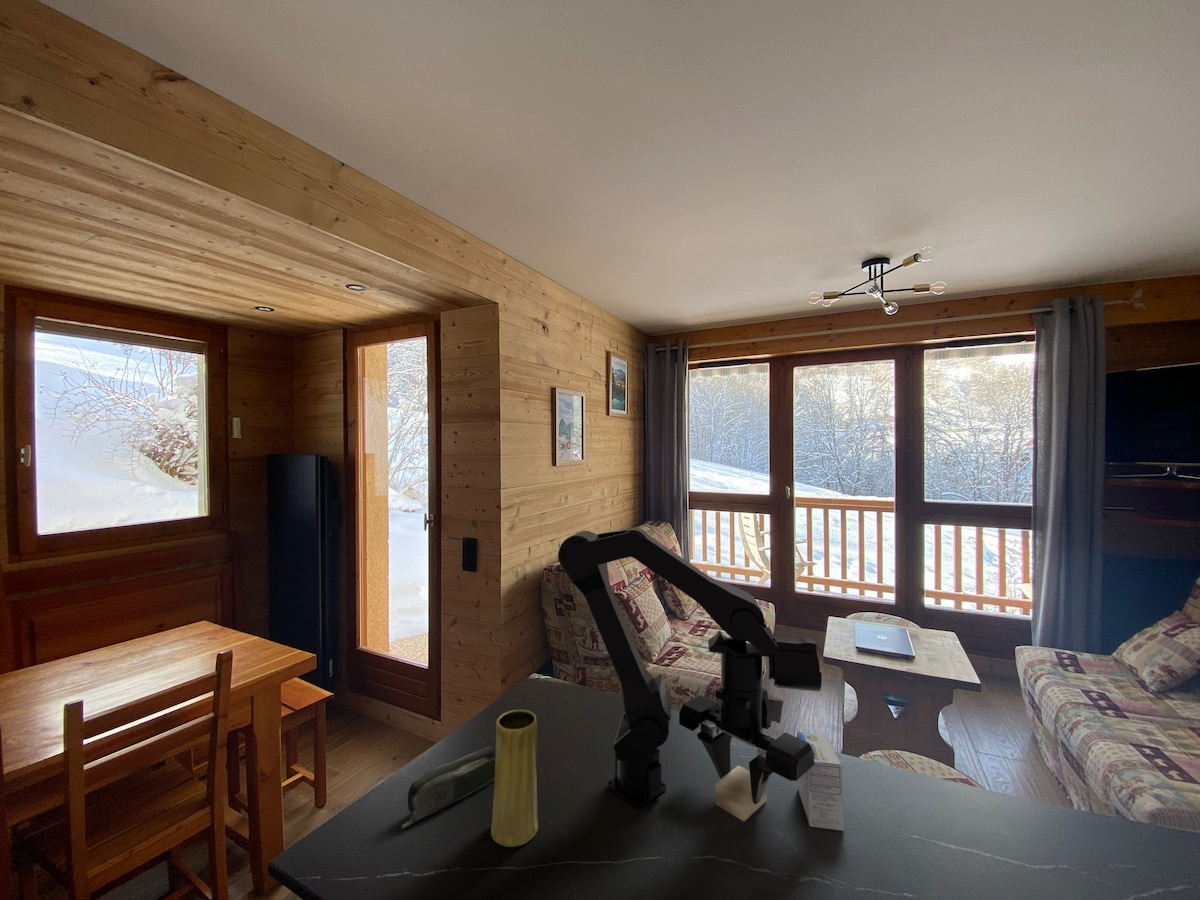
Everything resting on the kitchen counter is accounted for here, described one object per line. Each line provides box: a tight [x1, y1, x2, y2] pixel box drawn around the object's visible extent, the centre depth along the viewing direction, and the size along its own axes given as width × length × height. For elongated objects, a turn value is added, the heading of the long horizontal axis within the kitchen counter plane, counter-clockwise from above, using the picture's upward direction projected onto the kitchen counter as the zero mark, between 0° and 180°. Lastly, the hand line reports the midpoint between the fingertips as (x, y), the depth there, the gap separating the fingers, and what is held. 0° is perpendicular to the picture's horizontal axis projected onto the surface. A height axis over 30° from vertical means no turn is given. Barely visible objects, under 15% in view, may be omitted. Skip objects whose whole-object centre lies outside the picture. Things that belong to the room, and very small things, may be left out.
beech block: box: [715, 765, 767, 822], centre depth 69 cm, size 4×6×3 cm
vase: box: [490, 709, 539, 848], centre depth 63 cm, size 6×6×14 cm
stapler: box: [400, 745, 496, 830], centre depth 69 cm, size 5×3×15 cm
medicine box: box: [796, 731, 845, 832], centre depth 68 cm, size 8×4×9 cm, turn 168°
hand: (741, 793), depth 69 cm, fingers closed on beech block, 4 cm apart
